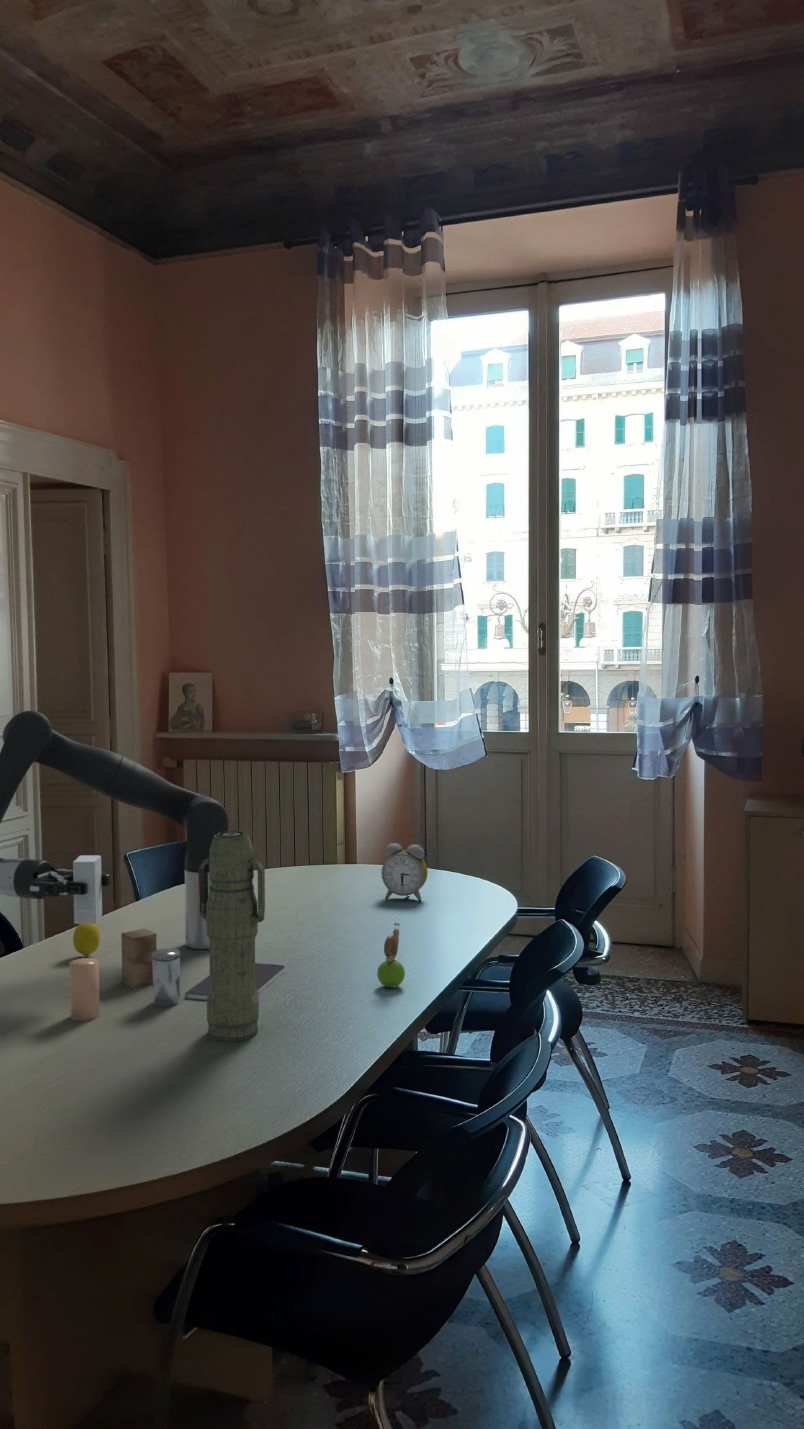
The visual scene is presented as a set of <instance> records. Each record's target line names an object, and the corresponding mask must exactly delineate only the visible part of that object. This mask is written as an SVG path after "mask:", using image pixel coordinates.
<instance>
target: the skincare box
mask: <svg viewBox="0 0 804 1429" xmlns="http://www.w3.org/2000/svg"><path fill="white" fill-rule="evenodd" d="M72 867H73V882H84V883H87V894H85V895H78V894H73V923H74V924H75V925H76V924H77V925H79V924H97V922H98V921H99V919H100V918H101V917H102V915H103V892H102V890H103V888H102V887H103V886H102V881H101V874H102V856H101V855H98V854H97V855H92V854H91V855H89V854H88V855H86V854H85V855H78V856H77V858H76V859H75V860H74V861H73V862H72Z"/></svg>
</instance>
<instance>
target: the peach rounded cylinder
mask: <svg viewBox="0 0 804 1429" xmlns="http://www.w3.org/2000/svg"><path fill="white" fill-rule="evenodd" d="M99 964H100V963H99V959H98V958H91V957H83V958H78V959H74V960H71V961H70V962H69V977H70V978H69V986H70V987H69V988H70V989H69V990H70V992H69V995H70V998H69V999H70V1019H71V1020H72V1021H78V1022H88V1021H92V1020H96V1019H97V1018H99V1017H100V969H99V968H100V967H99V966H100V965H99Z"/></svg>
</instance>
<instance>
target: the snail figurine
mask: <svg viewBox="0 0 804 1429" xmlns="http://www.w3.org/2000/svg"><path fill="white" fill-rule="evenodd" d="M393 925H394V929H393V931H392V934H391V935H388V936H387V937H386V939H385V941H384V946H383V952H384V956H386V957H385V960H384V961H383V962H381V963H380V965H379V966H378V968H377V973H376V975H377V978H378V981H379V982H380V984H381V985H382V986H384V987H385V986H387V987H386V988H389V987H393V988H395V987H394V986H397V987H398V986H400V985H401V984H402V983H403V981H404V979H405V976H406V975H405V974H406V973H405V972H406V971H405V968H404V966H403V964H402V963H401V962H399V961H398V960H396V956H397V954H398V949H399V943H400V942H399V940H400V938H399V937H400V930H399V929H400V927H399V926H400V923H399V922H397V923H396V922H394V923H393ZM396 926H397V928H396Z"/></svg>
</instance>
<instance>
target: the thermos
mask: <svg viewBox="0 0 804 1429" xmlns="http://www.w3.org/2000/svg"><path fill="white" fill-rule="evenodd" d="M254 857H255V856H254V846H253V843H252V841H251V838H250V835H249V834H248V833H245V832H244V831H239V830H229V831H226V832H220V833H218V834H217V835H215V836H214V837H213V841H212V844H211V847H210V851H209V859H207V860H204V861H203V862H202V863H201V865H200V866H199V868H198V872H199V896H200V915H201V916H202V917H203V918H204V919H205V921H206V929H207V936H208V938H209V949H208V950H209V951H208V952H209V975H210V990H209V993H208V996H207V1000H206V1021H207V1023H208V1028H207V1036H208V1037H209V1038H211V1039H212V1040H215V1041H218V1042H219V1041H220V1042H226V1043H227V1042H240V1041H245V1040H248V1039H252V1038H254V1037H255V1036H257V1034H258V1033H259V1027H258V1021H259V1016H260V1015H259V1010H260V1009H259V1007H260V1006H259V1005H260V1004H259V993H258V991H257V988H256V985H255V963H256V937H257V934H258V930H259V929H258V926H259V924H258V923H262V922H263V921H264V920H265V913H266V912H265V910H266V908H265V907H266V890H265V888H266V885H265V884H266V883H265V882H266V879H265V875H266V874H265V872H266V871H265V867H264V866H263V864H262V862H261V861H259V860H257V859H255V858H254ZM208 866H209V871H210V880H211V886H210V894H209V897H208ZM255 869H256V871H257V897H256V893H255V886H254V884H253V883H254V882H253V881H254V880H253V879H254V878H255V873H254V870H255Z"/></svg>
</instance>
